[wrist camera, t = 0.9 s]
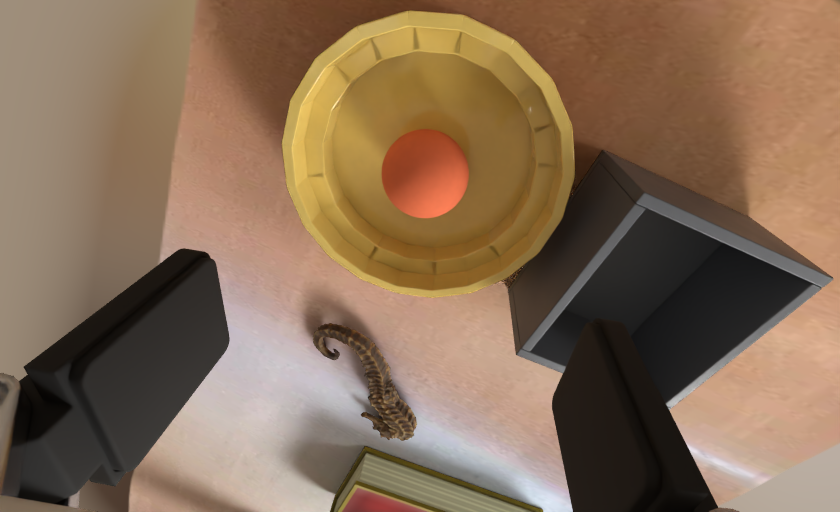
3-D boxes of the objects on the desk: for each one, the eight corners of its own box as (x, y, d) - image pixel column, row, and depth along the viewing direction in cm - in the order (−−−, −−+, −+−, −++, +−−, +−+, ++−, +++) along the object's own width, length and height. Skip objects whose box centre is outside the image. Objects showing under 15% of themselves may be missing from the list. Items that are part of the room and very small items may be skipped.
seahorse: (364, 314, 31) (356, 330, 29) (430, 428, 37) (427, 446, 36) (308, 324, 33) (298, 340, 31) (380, 430, 39) (375, 448, 38)
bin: (602, 149, 22) (644, 191, 17) (750, 217, 23) (835, 279, 18) (507, 289, 28) (515, 355, 23) (629, 339, 29) (665, 414, 24)
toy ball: (406, 106, 22) (391, 125, 18) (483, 140, 22) (485, 167, 18) (379, 179, 25) (360, 212, 20) (449, 209, 25) (444, 246, 21)
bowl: (348, -42, 19) (321, -55, 16) (616, 87, 21) (643, 101, 17) (288, 212, 27) (261, 240, 24) (485, 292, 29) (486, 329, 25)
